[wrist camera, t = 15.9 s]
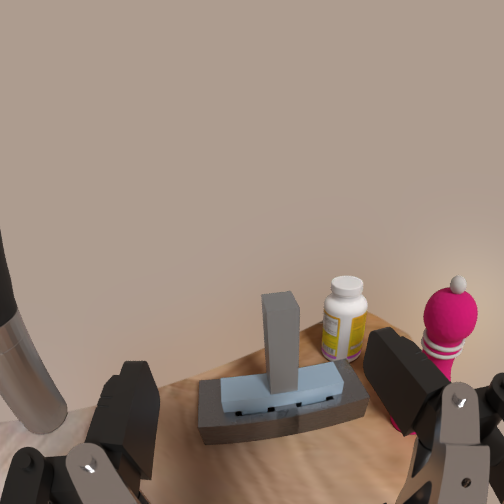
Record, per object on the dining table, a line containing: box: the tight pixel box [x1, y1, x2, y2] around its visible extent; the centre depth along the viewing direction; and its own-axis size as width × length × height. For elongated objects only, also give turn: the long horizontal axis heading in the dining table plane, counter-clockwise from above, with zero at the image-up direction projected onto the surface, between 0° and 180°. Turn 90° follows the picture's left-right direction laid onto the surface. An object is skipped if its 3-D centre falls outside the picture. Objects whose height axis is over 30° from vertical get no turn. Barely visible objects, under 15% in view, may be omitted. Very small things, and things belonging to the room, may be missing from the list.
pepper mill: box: [390, 276, 478, 435], centre depth 23 cm, size 7×7×20 cm
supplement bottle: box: [322, 276, 368, 362], centre depth 40 cm, size 7×7×13 cm
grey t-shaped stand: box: [221, 291, 344, 416], centre depth 29 cm, size 14×4×16 cm, turn 96°
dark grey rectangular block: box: [198, 358, 370, 445], centre depth 31 cm, size 20×8×4 cm, turn 97°
